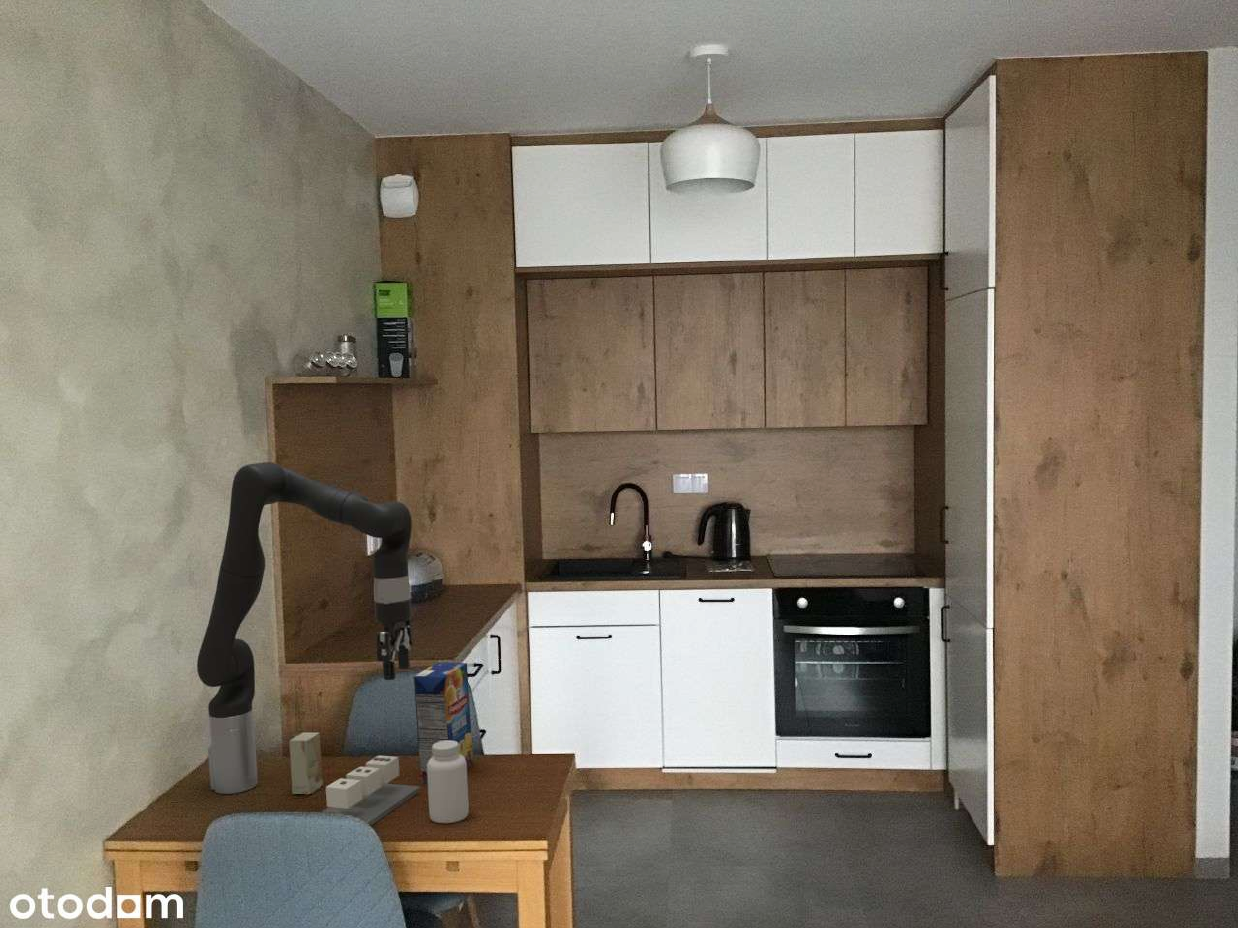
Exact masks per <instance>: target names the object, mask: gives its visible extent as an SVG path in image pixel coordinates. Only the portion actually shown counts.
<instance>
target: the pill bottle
mask: <svg viewBox="0 0 1238 928" xmlns="http://www.w3.org/2000/svg"><path fill="white" fill-rule="evenodd" d="M432 753H433V757H432V758H431V759H430V760H429V761H428V763H427V778H428V783H427V793H428V794H427V796H428V811H429V812H428V813H429V819H430V820H431V821H432V822H434V823H438V824H452V823H457V822H460V821H462V820H465V819H466V818H467V817H468V815H469V811H470V810H469V809H470V808H469V806H470V805H469V788H468V784H469V783H468V770H467V764H466V760H465V758H464V757H463V756H462V755H460V754H459V744H458V742H456V741H452V740H446V741H440V742H437V743H435V744H433V746H432Z"/></svg>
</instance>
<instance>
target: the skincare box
mask: <svg viewBox="0 0 1238 928" xmlns="http://www.w3.org/2000/svg"><path fill="white" fill-rule="evenodd" d="M320 734H321V733H320V732H309V731H308V732H306V731H305V732H301V733H299V734H297V735H295V737H293V738H292V739H290V740H289V756H290V771H291V772H290V773H291V788H292V795H293V794H311V793H312V794H313V793H315V792H317V791H318V790H319V789H320V788H322V787H323V786H324V782H323V780H324V779H323V767H322V764H323V763H322V753H321V749H322V748H321V735H320ZM322 785H323V786H322ZM321 786H322V787H321ZM317 789H318V790H317ZM312 794H311V795H312Z"/></svg>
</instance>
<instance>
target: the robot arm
mask: <svg viewBox="0 0 1238 928" xmlns="http://www.w3.org/2000/svg"><path fill="white" fill-rule="evenodd" d="M275 503H287V504H294V505H295V504H296V505H299V506H303V507H305V508H306V509H309V510H310V511H312V512H313V513H314V514H316V515H317V516H319V517H321V518H323V519H326V520H329V521H330V522H331V521H332V522H334V523H339V524H342V525H344V526H349V527H352V528H353V529H355V530H357V531H359V532H360V533H362V534H364V535H367V536H369V537H372V538H376V539H381V544H380V547H378V549H377V550H376V551H375V552H374V553H373V558H372V559H373V576H374V578H373V580H374V583H373V598H374V599H373V600H374V613H375V614H374V616H375V622H377V623H379V624H382V625H383V627H382V631H378V632H376V650H377V651H376V652H377V653H376V656H377V658H376V659H377V661H378V662H381V663H382V665H383V666H382V668H383V670H382V671H383V679H384V680H385V681H393V680H394V679H396V667H395V665H396V663H395V657H396V653H397V658H398V660H397V661H398V662H397V663H398V669H400V670H407V669H410V663H411V662H410V651H411V646H413V645H414V640H413V639H414V638H413V625H412V618H413V612H412V611H413V609H412V593H411V592H412V591H411V583H410V577H409V563H408V554H409V553H408V552H409V548H410V543H411V535H412V528H413V523H412V522H413V520H412V515H411V513H410V510H409V508H408V507H407V505H406V504H404V503H402V502H400V501H389V502H385V503H375V502H372V501H371V502H370V501H369V499H368V498H367V497H366V496H364V495H362V494H360V493H357V492H353V491H350V490H346V489H344V488H339V487H335V486H331V485H328V484H324V483H322V482H319V481H316V480H314V479H311V478H308V477H306V476H304V475H302V474H299V473H297V472H295V471H294V470H292V469H290V468H287V467H286V466H283V465H281V464H280V463H276V462H273V461H271V462H270V461H263V462H256V463H249V464H245V465H243V466H242V467H240V468H239V469H238V470H237V471H236V474H235V475H234V477H233V481H232V485H231V495H230V506H229V507H230V508H229V518H228V527H227V533H226V537H225V542H224V543H225V544H224V549H223V554H222V558H221V562H220V567H219V570H218V571H219V572H218V575H217V582H216V590H215V594H214V598H213V602H212V607H211V612H210V615H209V619H208V624H207V626H206V629H205V633H204V636H203V640H202V643H201V646H200V648H199V652H198V655H197V661H196V663H197V664H196V668H197V675H198V678H199V679H200V681H201V682H202V683H203V684H204V685H205V686H207V687H210V688H216V687H217V688H218V687H219V689H218V691H217V693H216V694H215V695H213V696H214V697H212V698H211V700H209V702H208V705H207V706H208V707H207V708H208V720H209V721H208V722H209V732H210V733H209V734H210V746H209V747H208V748H207V757H208V769H209V782H210V790H213V791H214V792H216V793H217V794H221V795H228V794H231V795H232V794H238V793H242V792H245V791H248V790H251V789H253V788H255V787H257V785H258V783H259V781H258V768H257V767H258V766H257V752H256V751H257V750H256V737H255V726H254V713H253V711H254V710H253V701H254V698H255V693H256V689H255V688H256V683H255V682H256V677H255V671H256V670H255V669H256V668H255V657H254V654H253V650H252V649H251V646H250V645H249V644H248V643H247V642H246V641H245V640H243V639H241V638H236V637H237V633H238V632H239V628H240V627H241V624H242V623H243V621H244V620H245V618H246V617H247V615H248V613H249V612H250V611H251V608H252V607H253V605H254V604H255V603H256V601H257V599H258V597H259V595H260V592H261V589H262V584H263V581H264V580H263V579H264V576H265V570H266V559H265V557H266V556H265V553H264V549H263V546H262V543H261V540H260V534H259V531H260V522H261V520H262V519H261V517H262V513H263V510H264V507H265V506H267V505H271V504H275Z"/></svg>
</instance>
